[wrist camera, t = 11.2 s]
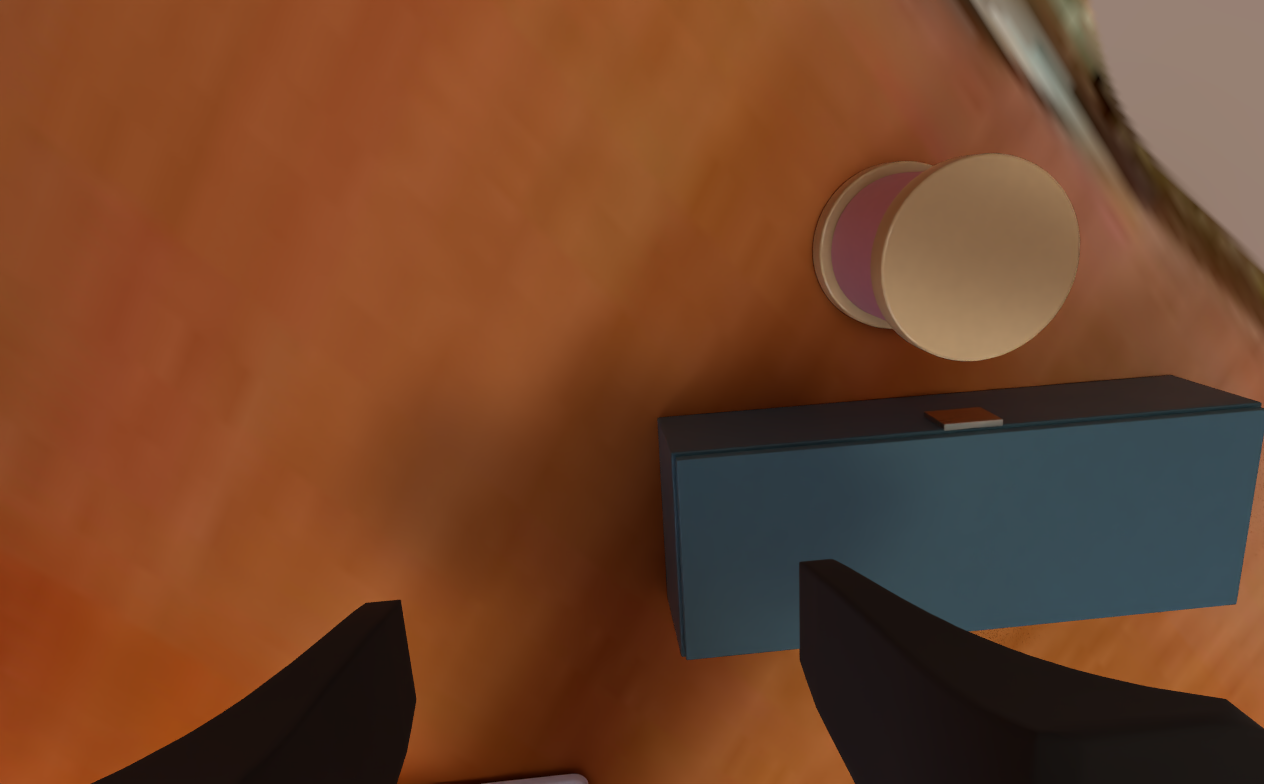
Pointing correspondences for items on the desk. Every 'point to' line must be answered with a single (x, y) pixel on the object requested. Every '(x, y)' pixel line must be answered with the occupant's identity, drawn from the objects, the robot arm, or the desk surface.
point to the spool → (950, 252)
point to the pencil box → (960, 506)
